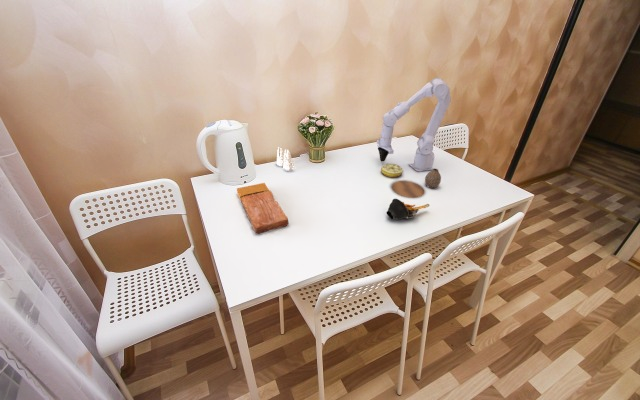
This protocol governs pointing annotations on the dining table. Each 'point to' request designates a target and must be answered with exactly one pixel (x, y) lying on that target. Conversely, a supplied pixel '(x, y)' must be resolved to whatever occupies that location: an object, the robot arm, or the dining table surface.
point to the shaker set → (284, 159)
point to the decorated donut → (391, 170)
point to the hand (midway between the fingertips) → (382, 160)
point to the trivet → (407, 189)
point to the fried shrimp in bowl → (402, 210)
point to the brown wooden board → (261, 208)
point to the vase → (433, 178)
